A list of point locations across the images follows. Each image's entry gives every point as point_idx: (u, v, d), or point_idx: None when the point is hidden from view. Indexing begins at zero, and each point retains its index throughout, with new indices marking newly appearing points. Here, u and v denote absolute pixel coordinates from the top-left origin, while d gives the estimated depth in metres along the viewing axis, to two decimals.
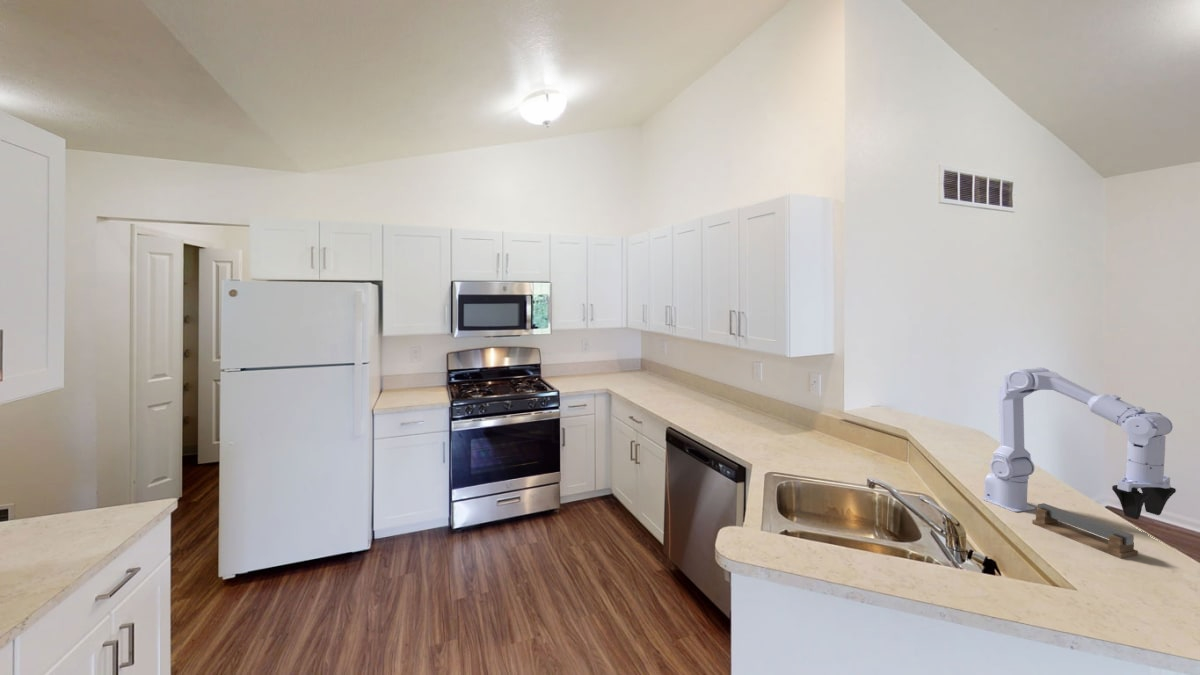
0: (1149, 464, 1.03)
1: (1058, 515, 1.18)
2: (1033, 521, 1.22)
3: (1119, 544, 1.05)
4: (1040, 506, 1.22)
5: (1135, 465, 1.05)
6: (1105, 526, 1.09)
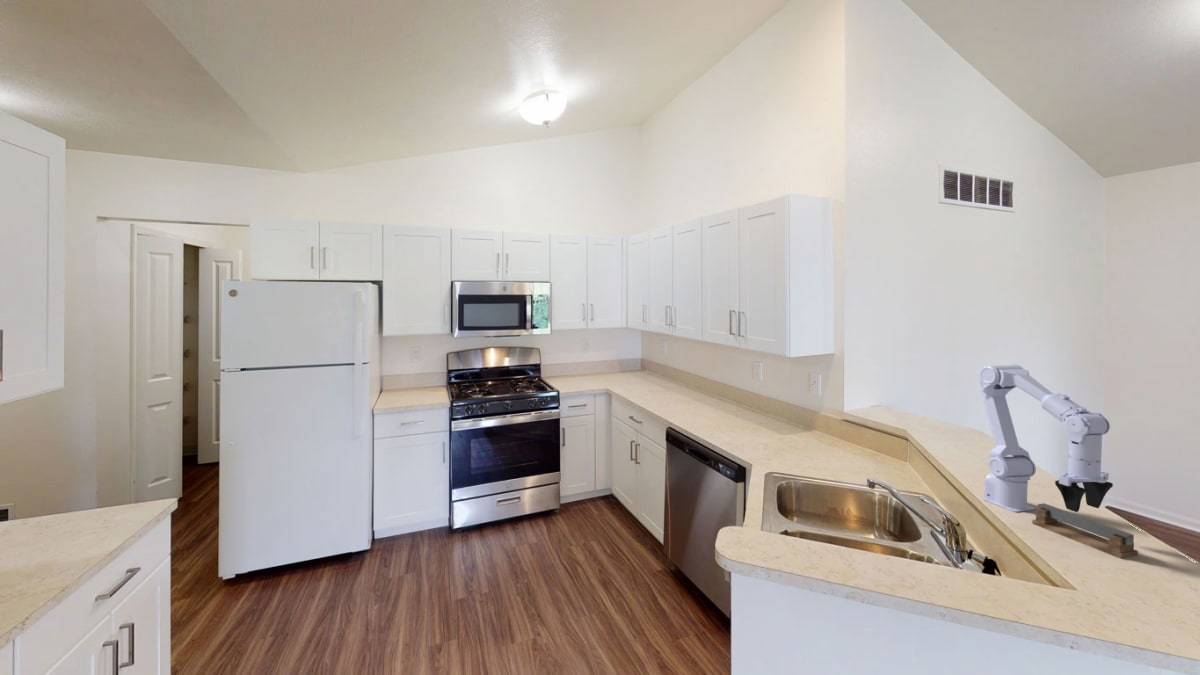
0: (1087, 460, 1.11)
1: (1058, 515, 1.18)
2: (1033, 521, 1.22)
3: (1119, 544, 1.05)
4: (1040, 506, 1.22)
5: (1075, 461, 1.12)
6: (1105, 526, 1.09)
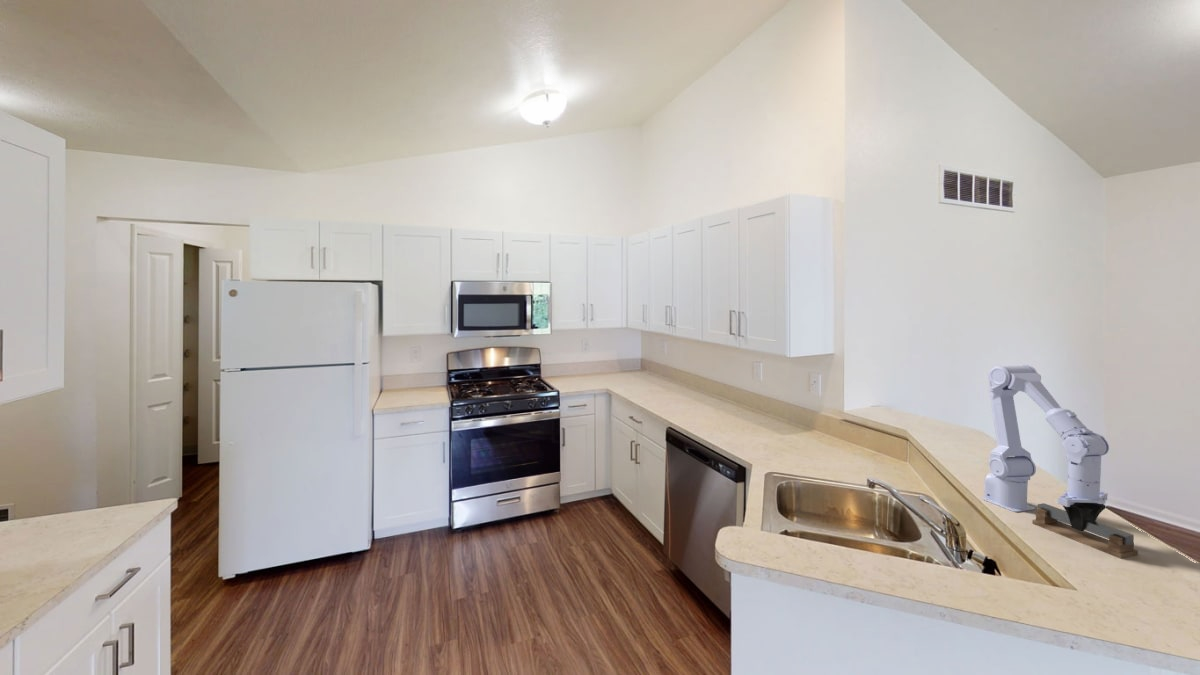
0: (1086, 481, 1.11)
1: (1058, 515, 1.18)
2: (1033, 521, 1.22)
3: (1119, 544, 1.05)
4: (1040, 506, 1.22)
5: (1074, 482, 1.13)
6: (1105, 526, 1.09)
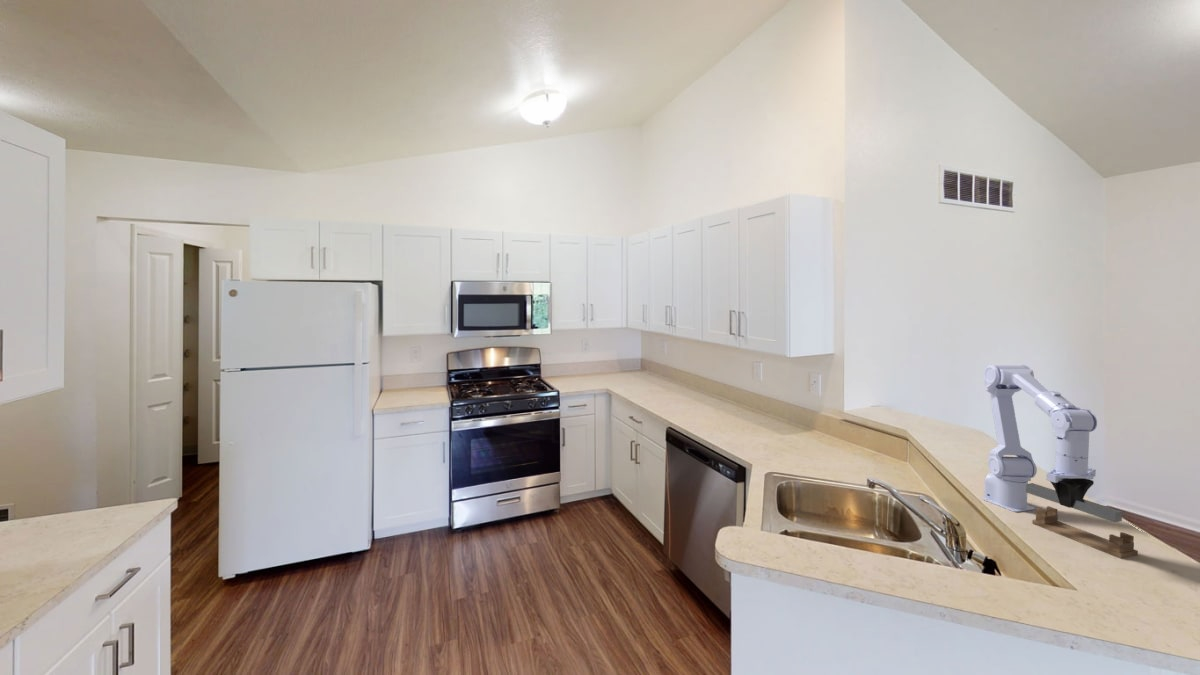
0: (1074, 457, 1.09)
1: (1047, 495, 1.16)
2: (1033, 521, 1.22)
3: (1119, 544, 1.05)
4: (1029, 486, 1.20)
5: (1062, 458, 1.11)
6: (1093, 504, 1.08)
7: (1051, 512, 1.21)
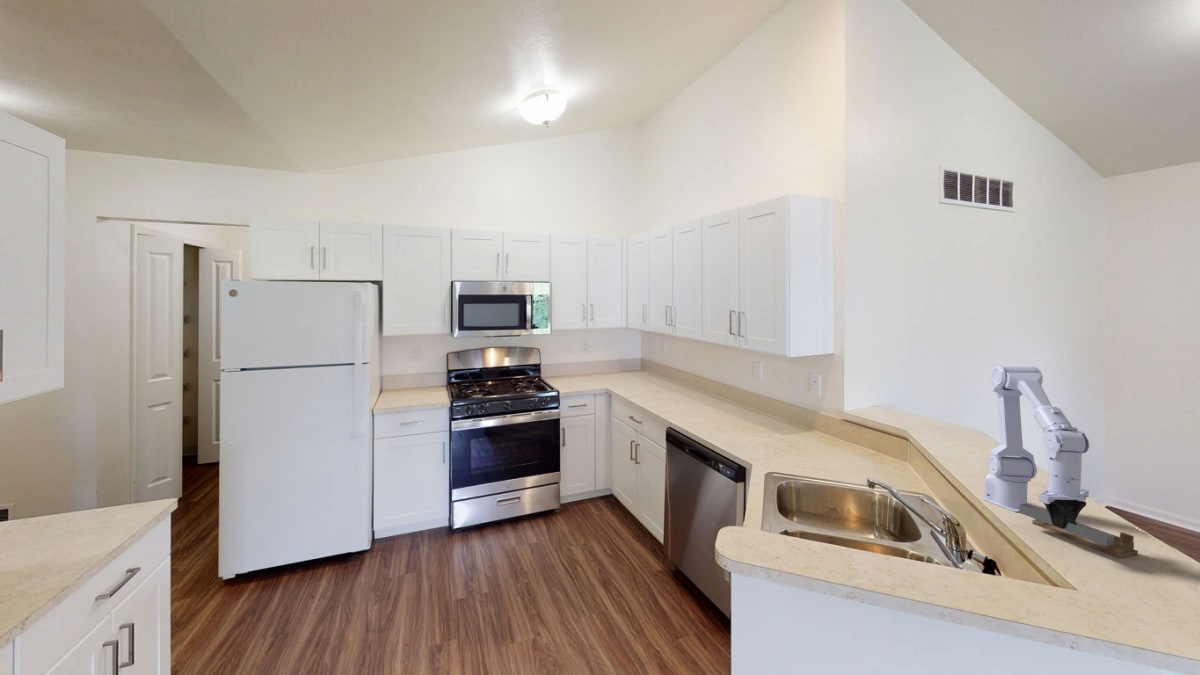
0: (1067, 478, 1.09)
1: (1040, 516, 1.16)
2: (1033, 521, 1.22)
3: (1119, 544, 1.05)
4: (1022, 506, 1.20)
5: (1055, 479, 1.11)
6: (1086, 527, 1.08)
7: None
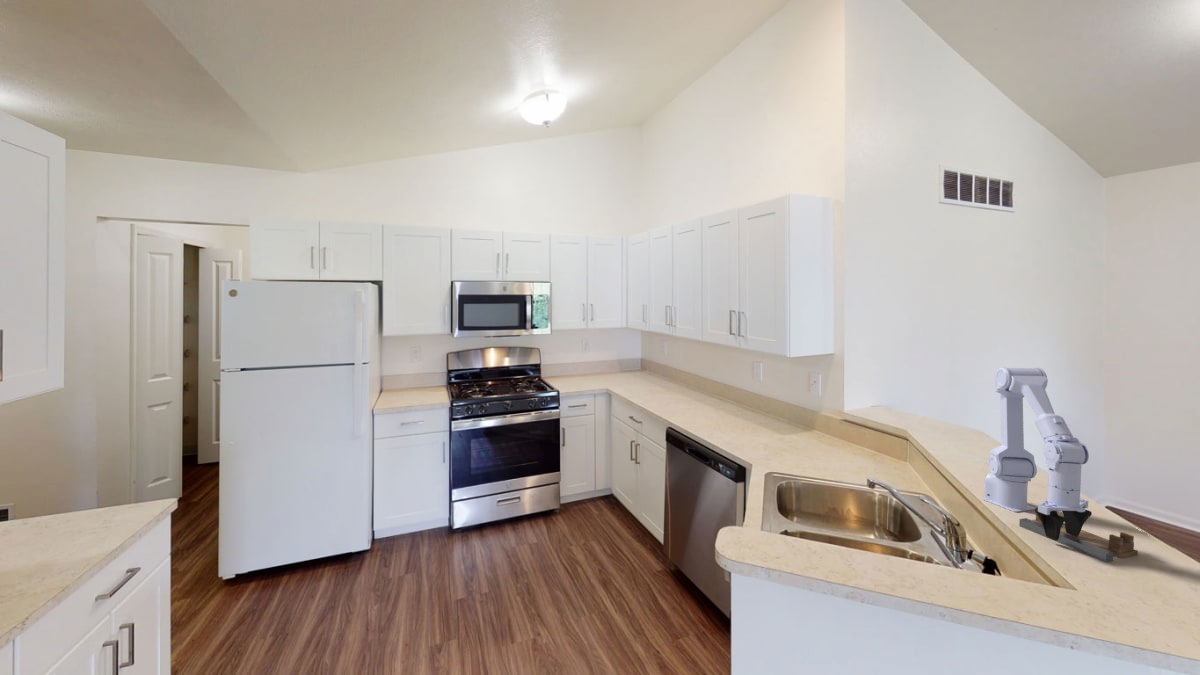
0: (1066, 489, 1.10)
1: (1039, 531, 1.16)
2: None
3: (1119, 544, 1.05)
4: (1022, 521, 1.20)
5: (1054, 489, 1.11)
6: (1085, 543, 1.08)
7: None
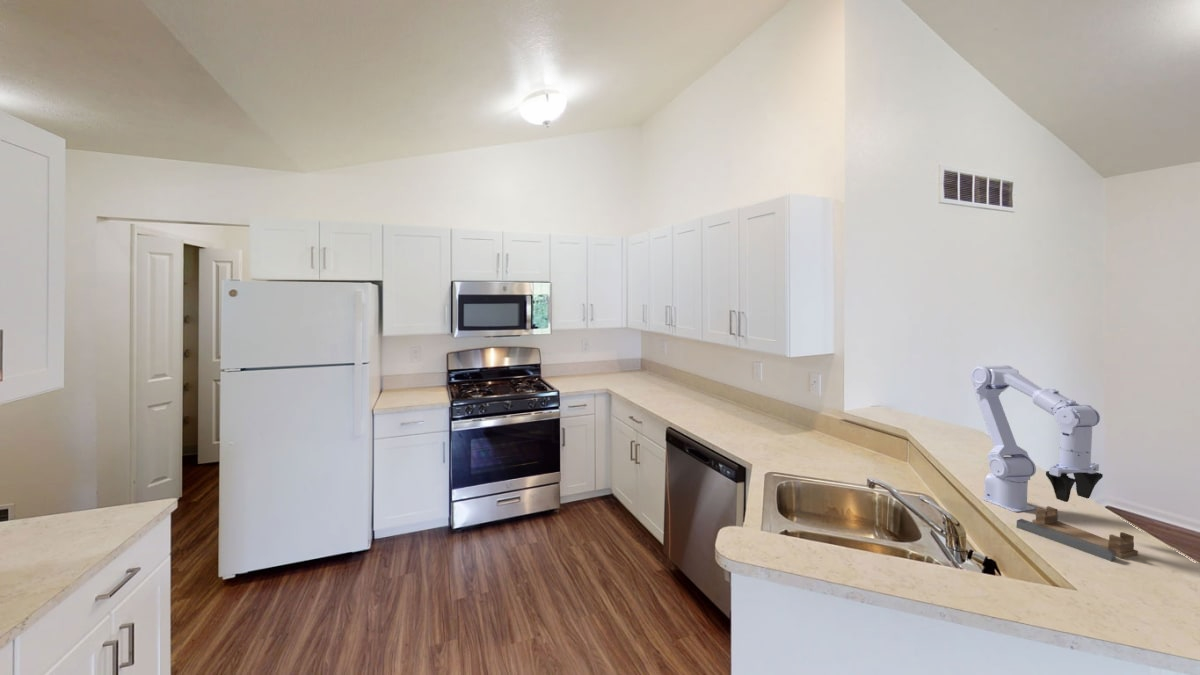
0: (1077, 451, 1.13)
1: (1039, 532, 1.16)
2: (1033, 521, 1.22)
3: (1119, 544, 1.05)
4: (1019, 522, 1.20)
5: (1065, 452, 1.15)
6: (1087, 543, 1.08)
7: (1051, 512, 1.21)
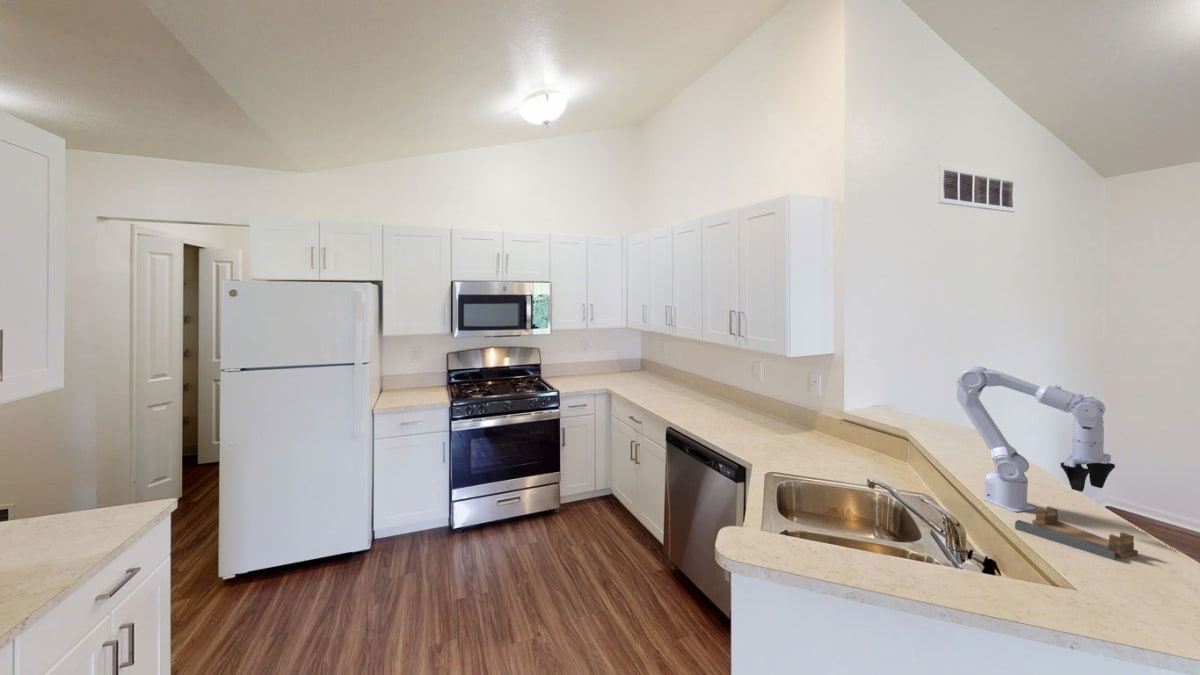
0: (1090, 443, 1.17)
1: (1038, 533, 1.15)
2: (1033, 521, 1.22)
3: (1119, 544, 1.05)
4: (1018, 524, 1.19)
5: (1079, 444, 1.19)
6: (1088, 542, 1.09)
7: (1051, 512, 1.21)
